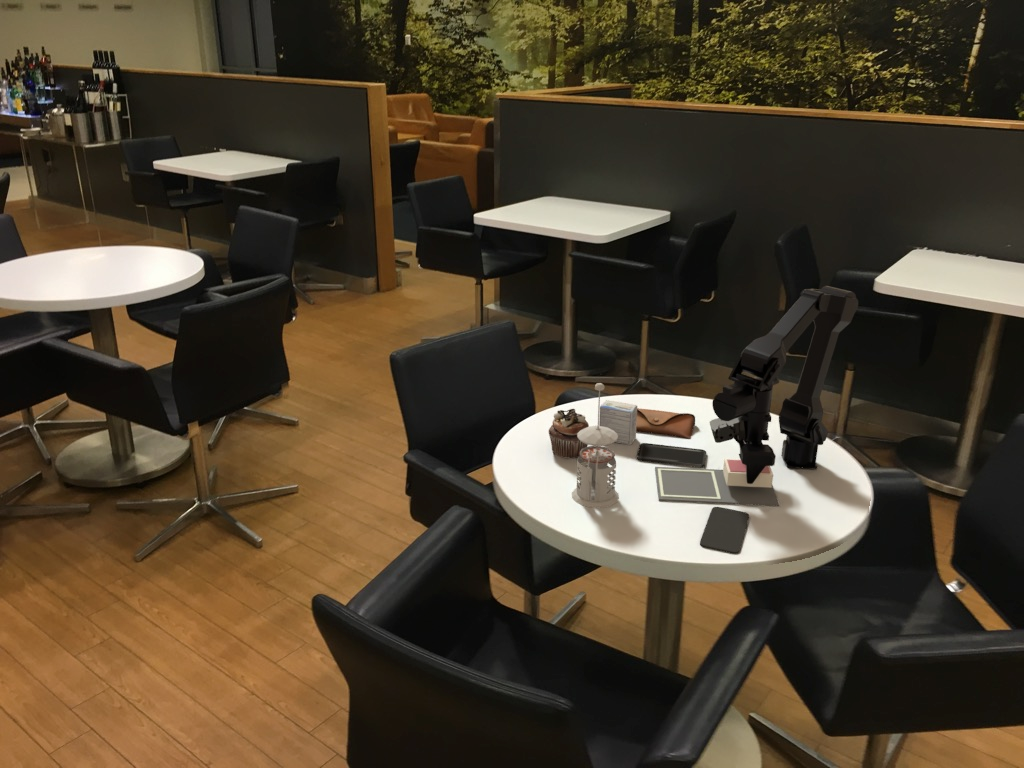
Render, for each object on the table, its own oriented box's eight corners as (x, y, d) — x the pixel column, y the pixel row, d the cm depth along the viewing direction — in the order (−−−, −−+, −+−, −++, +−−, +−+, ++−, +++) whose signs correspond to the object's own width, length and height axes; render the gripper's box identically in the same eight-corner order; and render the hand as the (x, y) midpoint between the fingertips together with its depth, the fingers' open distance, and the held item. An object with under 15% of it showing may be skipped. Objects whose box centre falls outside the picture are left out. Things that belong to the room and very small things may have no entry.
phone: (698, 544, 157) (712, 505, 169) (698, 548, 157) (712, 509, 170) (739, 553, 154) (750, 512, 167) (738, 557, 154) (750, 516, 167)
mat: (767, 473, 183) (767, 471, 183) (779, 506, 170) (779, 504, 170) (654, 468, 185) (655, 466, 185) (658, 500, 172) (658, 498, 172)
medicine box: (636, 438, 199) (638, 404, 196) (630, 446, 195) (632, 411, 192) (604, 432, 202) (605, 399, 199) (598, 439, 198) (599, 406, 195)
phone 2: (640, 442, 195) (706, 449, 192) (640, 446, 196) (706, 454, 192) (636, 457, 188) (704, 465, 185) (635, 462, 189) (704, 470, 185)
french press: (621, 486, 178) (627, 376, 168) (615, 514, 167) (621, 398, 158) (575, 481, 180) (578, 372, 170) (566, 509, 169) (569, 394, 160)
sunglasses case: (616, 430, 203) (620, 403, 204) (619, 433, 209) (622, 407, 210) (693, 439, 198) (696, 411, 199) (693, 442, 205) (696, 415, 206)
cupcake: (599, 452, 192) (600, 412, 188) (565, 464, 187) (566, 423, 183) (572, 437, 200) (573, 398, 196) (539, 448, 194) (540, 408, 191)
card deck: (766, 473, 178) (768, 460, 177) (771, 487, 173) (773, 473, 172) (723, 471, 179) (724, 458, 178) (726, 485, 174) (728, 471, 173)
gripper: (709, 388, 179) (703, 453, 185) (720, 425, 162) (713, 496, 168) (762, 389, 178) (755, 456, 184) (779, 427, 161) (770, 499, 167)
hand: (747, 475), depth 176 cm, fingers closed on card deck, 6 cm apart
